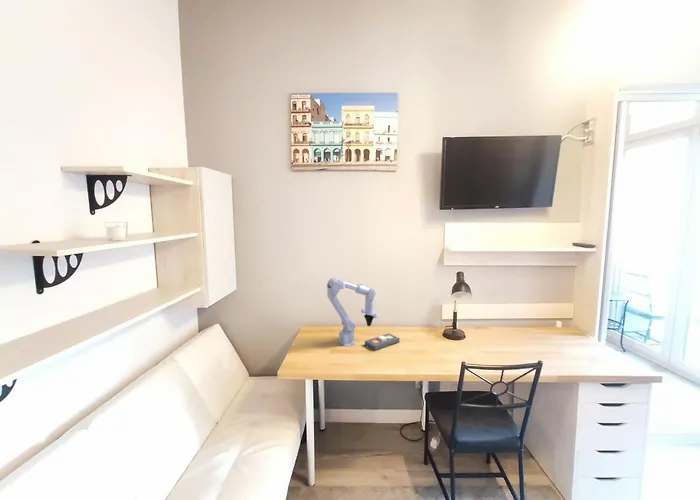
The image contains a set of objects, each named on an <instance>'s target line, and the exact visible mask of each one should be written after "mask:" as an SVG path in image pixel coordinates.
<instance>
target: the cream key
mask: <svg viewBox="0 0 700 500" xmlns="http://www.w3.org/2000/svg"><path fill="white" fill-rule="evenodd" d="M379 336H380V337H379ZM379 336H377V337H378V340H380V341H382V342H383V341H386V340H387V337H385V336H382V335H379Z"/></svg>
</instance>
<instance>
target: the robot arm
mask: <svg viewBox="0 0 700 500" xmlns="http://www.w3.org/2000/svg"><path fill="white" fill-rule="evenodd" d="M326 288H327V289H326V290H327V293H326V294H327V295H326V296H327V298H328V300H329V301H330V303H331V304H332V306H333V307H334V309H335V311H336V313H337V314H338V316H339V318H340V321H341V325H342V326H343V327H342V330H340V331H339V333H338V343H339V344H340V345H341V346H344V347H348V346H350V345H354V344H357V343H358V342H357V341H355V330H356V326H357V325H356V323H355V322H354V321H353V320H352V319H351V318H350V316H349V315H348V313H347V311H346V310H345V308H344V307H343V305H342V303H341V302H340V300H339V298H338V294H339V293H340V291H341V290H344V289H346V288H347V289H349V290H354V292H355V293H356V294H358V295H362V296H365V297H364V298H365V301H364V302H365V303H364V309H360V311H361V313H362V314H364V315H363V317H364V320H365V322H366V325H367V326H368V327H371V326H372V324H373V323H372V322H373V320H374V319H378V318H379V314H377V313H376V312H375V310H374V309H375V297H376V294H377V292H376V290H375V289H374V288H372V287H370V286H369V285H364V284H361V283H360V284H359V283H358V284H354V283H351V282H347V281H345V280H341V279H336V278H333V277H332V278H330V279H329V280H327V284H326Z"/></svg>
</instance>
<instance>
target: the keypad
mask: <svg viewBox="0 0 700 500" xmlns="http://www.w3.org/2000/svg"><path fill="white" fill-rule="evenodd" d="M389 335H390V336H392V337H394V338H392V339H387V340H386V341H383V342H382V341H380V340H378V337H380V336H385V337H386V336H389ZM400 339H401V338H400V337H399V336H395V335H394V334H391V333H389V332H388V333H386V334H383V335H379V336H377V337H374V338H373V337H372V338H369V339H366V340H364V346H365V347H367V348H369V349H371V350H373V351H374V352H376V351H379V350H382V349H385V348H388V347H391V346H394V345H397V344H400ZM373 340H377V341H379V342H380V343H377V344H374V343H372V342H371V341H373Z"/></svg>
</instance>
